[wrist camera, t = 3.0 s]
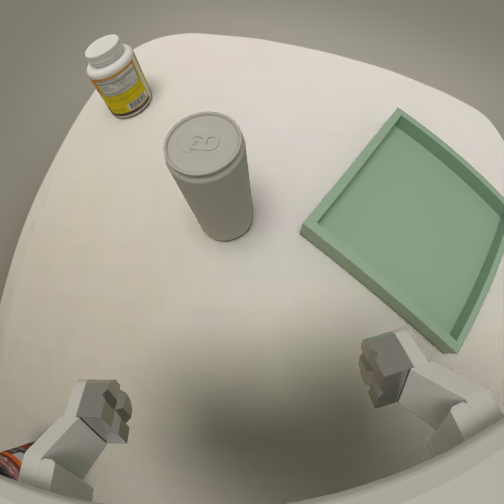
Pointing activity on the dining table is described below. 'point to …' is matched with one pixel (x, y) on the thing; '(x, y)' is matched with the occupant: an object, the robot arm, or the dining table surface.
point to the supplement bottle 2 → (117, 76)
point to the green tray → (415, 229)
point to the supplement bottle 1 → (13, 461)
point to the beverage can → (212, 172)
